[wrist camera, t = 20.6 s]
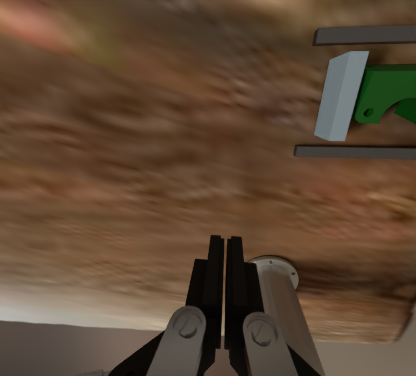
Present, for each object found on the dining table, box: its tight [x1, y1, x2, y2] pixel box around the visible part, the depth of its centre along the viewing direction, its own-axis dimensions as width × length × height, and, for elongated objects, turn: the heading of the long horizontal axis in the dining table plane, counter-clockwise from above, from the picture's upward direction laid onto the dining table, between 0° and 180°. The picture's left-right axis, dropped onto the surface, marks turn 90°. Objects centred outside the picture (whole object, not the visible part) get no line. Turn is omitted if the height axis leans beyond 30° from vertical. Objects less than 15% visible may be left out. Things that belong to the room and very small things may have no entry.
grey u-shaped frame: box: [293, 25, 416, 159], centre depth 26 cm, size 17×20×5 cm
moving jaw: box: [314, 51, 369, 141], centre depth 27 cm, size 10×2×5 cm, turn 0°
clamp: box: [351, 64, 416, 124], centre depth 26 cm, size 12×6×9 cm, turn 85°
